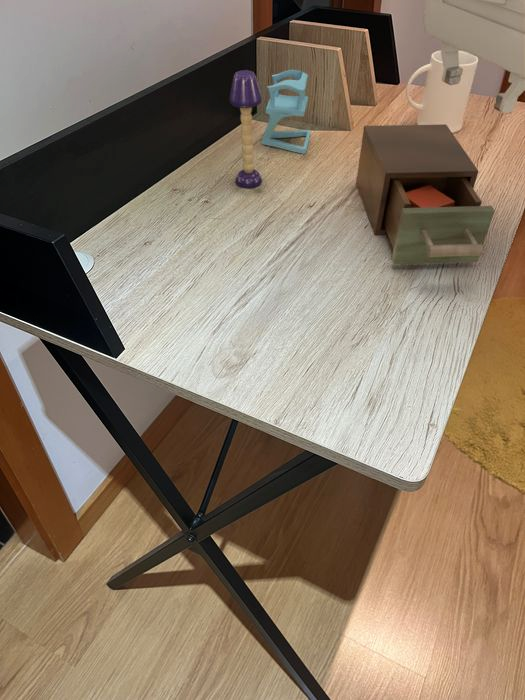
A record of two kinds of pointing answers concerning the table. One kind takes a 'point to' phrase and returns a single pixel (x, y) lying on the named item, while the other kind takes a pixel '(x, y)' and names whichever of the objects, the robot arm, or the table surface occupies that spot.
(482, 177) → the table surface
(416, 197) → the block
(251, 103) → the toy lamp
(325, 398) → the table surface
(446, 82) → the robot arm
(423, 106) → the mug
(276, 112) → the chair
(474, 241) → the drawer
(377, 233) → the cabinet
